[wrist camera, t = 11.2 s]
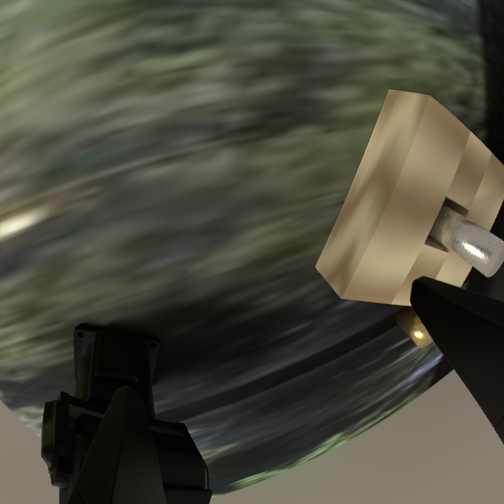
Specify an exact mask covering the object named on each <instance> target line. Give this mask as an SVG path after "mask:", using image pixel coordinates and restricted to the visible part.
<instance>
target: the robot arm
mask: <svg viewBox="0 0 504 504" xmlns="http://www.w3.org/2000/svg"><path fill="white" fill-rule="evenodd" d="M410 303H411V306H412V307H413V309H414V311H415V312H416V314H417V315H418V317H419V319H420V320H421V322H422V323H423V325H424V327H425V328H426V330H427V332H428V333H429V335H430V337H431V338H432V340H433V341H434V342H435V344H436V345H437V347H438V348H439V349H440V351H441V352H442V353H443V355H444V356H445V357H446V359H447V360H448V362H449V363H450V364H451V366H452V367H453V368H454V370H455V371H456V373H457V374H458V375H459V377H460V378H461V380H462V381H463V382H464V384H465V385H466V387H467V388H468V389H469V391H470V393H471V394H472V396H473V397H474V398H475V400H476V401H477V403H478V404H479V406H480V407H481V409H482V410H483V412H484V414H485V415H486V417H487V418H488V420H489V421H490V423H491V424H492V426H493V427H494V429H495V431H496V433H497V434H498V436H499V437H500V439H501V441H502V442H503V444H504V302H502V301H499V300H496V299H493V298H490V297H487V296H484V295H481V294H478V293H475V292H472V291H469V290H466V289H463V288H460V287H457V286H454V285H451V284H448V283H445V282H442V281H439V280H436V279H433V278H430V277H427V276H421V277H419V278H417V279H415V280H413V282H412V287H411V294H410ZM79 332H82V333H79ZM151 343H155V344H151ZM159 348H160V340H159V339H158V338H157V337H153V336H145V335H137V334H130V333H123V332H116V331H109V330H103V329H97V328H91V327H85V326H76V327H75V330H74V362H75V380H76V389H75V397H73V396H70V395H69V394H68V393H65V392H62V391H61V392H60V395H59V398H58V400H54V401H51V402H46V403H45V407H44V413H43V421H42V431H41V457H42V458H43V460H44V461H45V462H46V464H47V465H48V470H49V473H50V478H51V484H52V486H56V487H59V504H209V502H210V499H211V496H212V491H211V490H210V489H209V473H208V469H207V466H206V463H205V461H204V460H203V458H202V456H201V454H200V452H199V451H198V449H197V447H196V445H195V443H194V441H193V440H192V438H191V436H190V434H189V432H188V430H187V428H186V426H185V424H184V423H179V422H176V423H172V422H167V421H162V420H157V419H155V412H154V403H153V394H152V380H153V375H154V371H155V366H156V361H157V357H158V353H159Z"/></svg>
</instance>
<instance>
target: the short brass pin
mask: <svg viewBox="0 0 504 504" xmlns="http://www.w3.org/2000/svg"><path fill="white" fill-rule="evenodd" d="M396 322H397V323H398V325H399V326H400V327H401V328H402V329H403V330H404V331H405V332H406V333H407V334H408V336H409V337H410V338H411V339H412V340H413V341H414V342H415V343H416V345H417V346H418V347H419V348H424V347H426V346H427V345H429V344H430V343H431V342H432V341H433V340H432V338H431V337H430V335H429V333H428V332H427V330H426V328H425V327H424V325H423V323H422V322H421V320H420V319H419V317H418V315H417V314H416V312H415V311H414V309H413V307H412V306H406V307H404V308H403V309H402V310H401V311H400V312H399V314H398V316H397V319H396Z"/></svg>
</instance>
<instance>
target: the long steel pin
mask: <svg viewBox="0 0 504 504" xmlns="http://www.w3.org/2000/svg"><path fill="white" fill-rule="evenodd" d="M429 235H430V236H432V237H433V238H435V239H436V240H438V241H439V242H441V243H442V244H443V245H445V246H446V247H448V248H449V249H450V250H452V251H453V252H455V253H456V254H457V255H459V256H460V257H461V258H463V259H464V260H465V261H467V262H468V263H469V264H471V265H472V266H473V267H475V268H476V269H477V270H479V271H480V272H481V273H483V274H484V275H485V276H486V277H491V276H492V275H494V274H495V273H496V272H497V270H498V269H499V268H500V266H501V264H502V262H503V260H504V241H502V240H501V239H499V238H498V237H496V236H495V235H493V234H492V233H490V232H489V231H487V230H485V229H484V228H482V227H481V226H479V225H477V224H476V223H474V222H473V221H471V220H469V219H468V218H466V217H464V216H463V215H461V214H459V213H457V212H456V211H454V210H452V209H451V208H449V207H447V206H445V205H443V204H442V206H441V209H440V211H439V213H438V215H437V217H436V220H435V222H434V224H433V226H432V228H431V230H430V232H429Z"/></svg>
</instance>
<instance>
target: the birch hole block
mask: <svg viewBox="0 0 504 504" xmlns="http://www.w3.org/2000/svg"><path fill="white" fill-rule="evenodd" d="M503 199H504V166H503V164H502V163H501V162H500V161H499V160H498V159H497V158H496V157H495V156H494V155H493V153H492V152H491V151H490V150H489V149H488V148H487V147H486V146H485V145H484V144H483V143H482V142H481V141H480V140H479V139H478V138H477V137H476V136H475V135H474V134H473V133H472V132H471V131H470V130H469V129H468V128H467V127H466V126H465V125H463V124H462V123H461V122H460V121H459V120H458V119H457V118H456V117H455V116H454V115H453V114H451V113H450V112H449V111H448V110H447V109H446V108H445V107H443V106H442V105H441V104H440V103H439V102H438V101H436V100H435V99H434V98H433V97H431V96H430V95H425V94H419V93H413V92H406V91H399V90H391V89H389V90H388V93H387V96H386V98H385V101H384V104H383V107H382V109H381V112H380V115H379V117H378V120H377V122H376V125H375V128H374V130H373V133H372V135H371V138H370V141H369V143H368V146H367V148H366V151H365V153H364V156H363V158H362V161H361V163H360V166H359V168H358V170H357V173H356V175H355V178H354V180H353V182H352V185H351V187H350V190H349V192H348V194H347V197H346V199H345V201H344V204H343V206H342V208H341V211H340V213H339V215H338V217H337V220H336V222H335V224H334V226H333V229H332V231H331V233H330V235H329V238H328V240H327V242H326V244H325V246H324V249H323V251H322V253H321V255H320V257H319V259H318V262H317V264H316V266H315V268H316V269H317V270H318V271H319V273H320V274H321V275H322V276H323V277H324V279H325V280H326V281H327V282H328V283H329V284H330V286H331V287H332V288H333V289H334V290H335V292H336V293H337V294H338V295H339V297H340V298H341V299H350V300H359V301H368V302H377V303H386V304H396V305H406V306H411V303H410V294H411V287H412V282H413V280H415V279H417V278H419V277H421V276H427V277H430V278H433V279H436V280H439V281H442V282H445V283H448V284H451V285H454V286H457V287H460V288H461V286H462V284H463V282H464V281H465V279H466V277H467V275H468V273H469V272H470V270H471V268H472V265H471V264H469V263H468V262H467V261H465V260H464V259H463V258H461V257H460V256H459V255H457V254H456V253H455V252H453V251H452V250H450V249H449V248H448V247H446V246H445V245H443V244H442V243H441V242H439V241H438V240H436V239H435V238H433V237H432V236H430V235H429V232H430V230H431V228H432V226H433V224H434V222H435V220H436V217H437V215H438V213H439V211H440V209H441V206H442V204H443V205H445V206H447V207H449V208H451V209H452V210H454V211H456V212H457V213H459V214H461V215H463V216H464V217H466V218H468V219H469V220H471V221H473V222H474V223H476V224H477V225H479V226H481V227H482V228H484V229H485V230H487V231H489V232H490V230H491V227H492V225H493V223H494V221H495V218H496V216H497V214H498V211H499V209H500V207H501V204H502V202H503Z"/></svg>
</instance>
